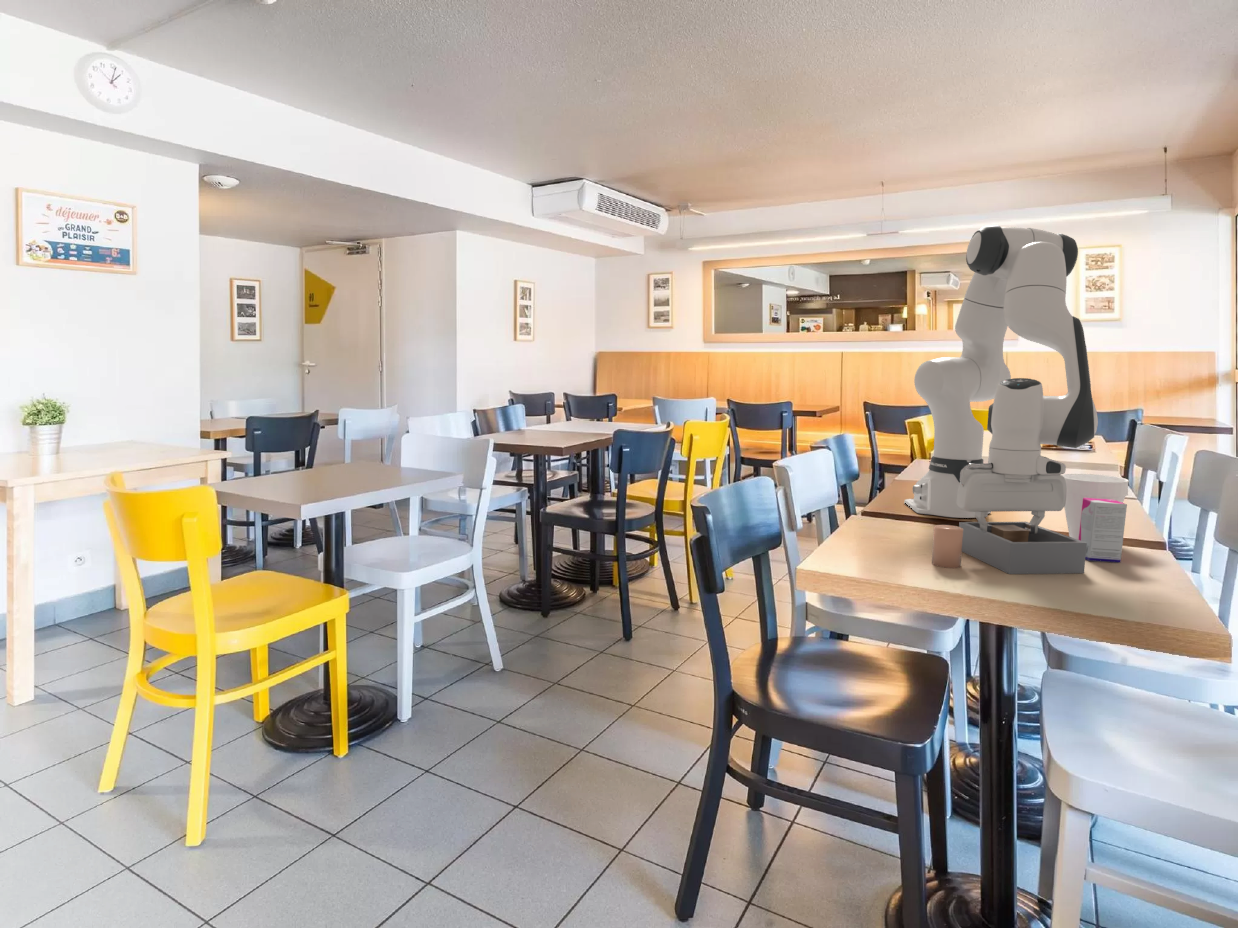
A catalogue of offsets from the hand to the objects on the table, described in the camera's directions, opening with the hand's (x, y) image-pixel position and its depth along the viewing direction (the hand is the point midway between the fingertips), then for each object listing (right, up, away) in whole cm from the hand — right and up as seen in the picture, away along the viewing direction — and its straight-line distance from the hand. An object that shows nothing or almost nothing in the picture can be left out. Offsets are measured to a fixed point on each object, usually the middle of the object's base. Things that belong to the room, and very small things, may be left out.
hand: (1008, 533), depth 145 cm
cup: (+24, -3, +13) cm, 28 cm away
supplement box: (+17, -5, -1) cm, 18 cm away
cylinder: (-15, -5, -6) cm, 17 cm away
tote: (0, -5, -3) cm, 6 cm away
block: (0, -4, 0) cm, 4 cm away
